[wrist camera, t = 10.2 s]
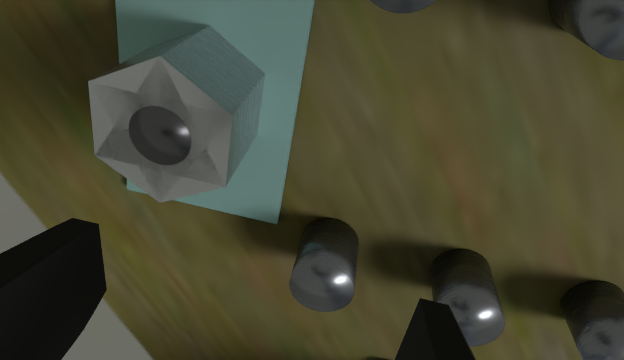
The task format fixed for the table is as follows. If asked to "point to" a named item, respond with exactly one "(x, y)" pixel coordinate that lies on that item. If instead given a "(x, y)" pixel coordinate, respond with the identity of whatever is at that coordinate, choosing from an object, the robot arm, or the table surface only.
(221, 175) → the steel nut
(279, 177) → the mat
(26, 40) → the table surface
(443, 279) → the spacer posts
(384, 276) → the table surface
